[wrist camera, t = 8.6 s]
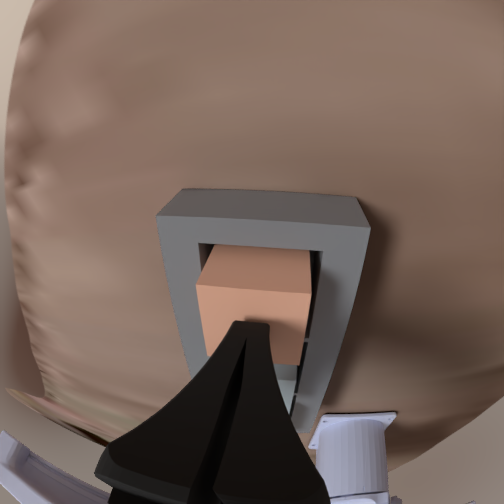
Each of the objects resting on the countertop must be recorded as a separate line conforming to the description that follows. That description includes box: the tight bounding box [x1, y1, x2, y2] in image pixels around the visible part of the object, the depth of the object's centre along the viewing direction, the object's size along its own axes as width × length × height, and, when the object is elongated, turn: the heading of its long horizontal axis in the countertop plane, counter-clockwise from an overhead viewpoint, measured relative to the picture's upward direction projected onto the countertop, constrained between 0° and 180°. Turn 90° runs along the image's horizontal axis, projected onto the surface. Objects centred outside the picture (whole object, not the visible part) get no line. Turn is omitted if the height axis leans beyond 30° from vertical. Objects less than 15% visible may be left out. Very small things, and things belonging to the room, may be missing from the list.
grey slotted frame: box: [156, 189, 371, 433], centre depth 18 cm, size 19×9×3 cm, turn 1°
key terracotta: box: [196, 244, 311, 365], centre depth 13 cm, size 4×4×4 cm
